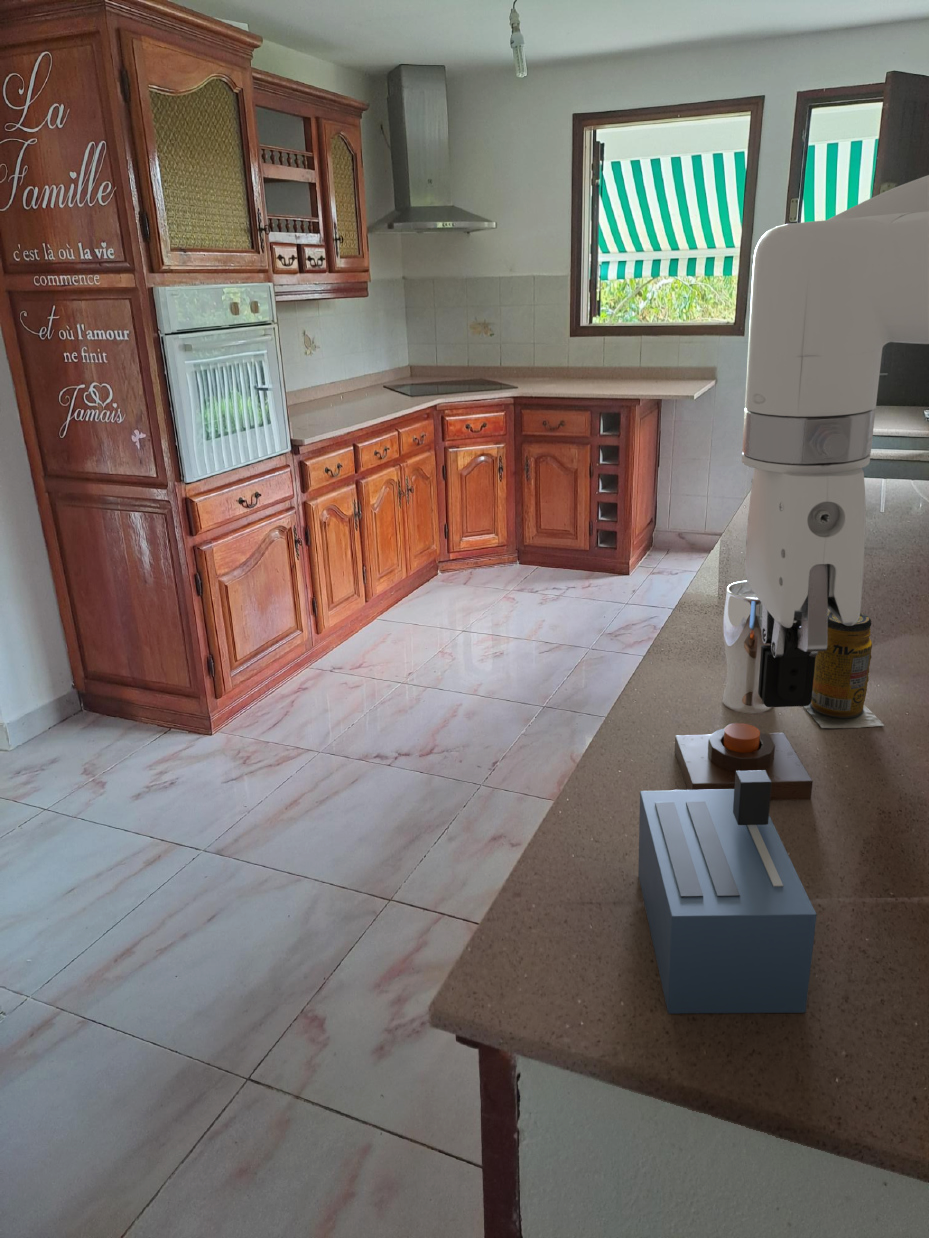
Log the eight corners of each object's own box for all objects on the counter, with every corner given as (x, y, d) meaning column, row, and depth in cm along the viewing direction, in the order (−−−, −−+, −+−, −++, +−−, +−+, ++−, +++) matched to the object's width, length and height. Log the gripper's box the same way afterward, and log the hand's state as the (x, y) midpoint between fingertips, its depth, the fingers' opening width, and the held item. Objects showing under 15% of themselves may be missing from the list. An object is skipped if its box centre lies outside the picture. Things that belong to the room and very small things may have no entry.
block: (782, 749, 99) (785, 718, 97) (811, 799, 89) (814, 765, 88) (674, 752, 99) (675, 721, 98) (691, 802, 90) (693, 768, 89)
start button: (753, 736, 95) (755, 722, 94) (763, 753, 91) (764, 739, 91) (720, 737, 95) (720, 723, 94) (727, 754, 92) (728, 740, 91)
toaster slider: (762, 812, 72) (765, 769, 71) (768, 824, 71) (771, 782, 69) (732, 812, 72) (735, 770, 71) (737, 825, 71) (740, 782, 69)
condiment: (853, 694, 110) (864, 604, 105) (884, 727, 102) (897, 631, 98) (795, 697, 110) (803, 608, 106) (821, 730, 102) (831, 635, 98)
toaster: (750, 873, 79) (756, 787, 76) (805, 1012, 64) (817, 913, 61) (638, 875, 80) (639, 789, 77) (667, 1013, 65) (671, 915, 62)
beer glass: (770, 720, 105) (780, 603, 99) (712, 709, 108) (718, 595, 103) (782, 696, 110) (792, 583, 105) (726, 686, 114) (733, 577, 108)
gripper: (920, 459, 47) (881, 755, 54) (827, 415, 61) (805, 655, 68) (779, 466, 48) (757, 758, 55) (717, 421, 62) (706, 659, 69)
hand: (784, 700), depth 61 cm, fingers closed
